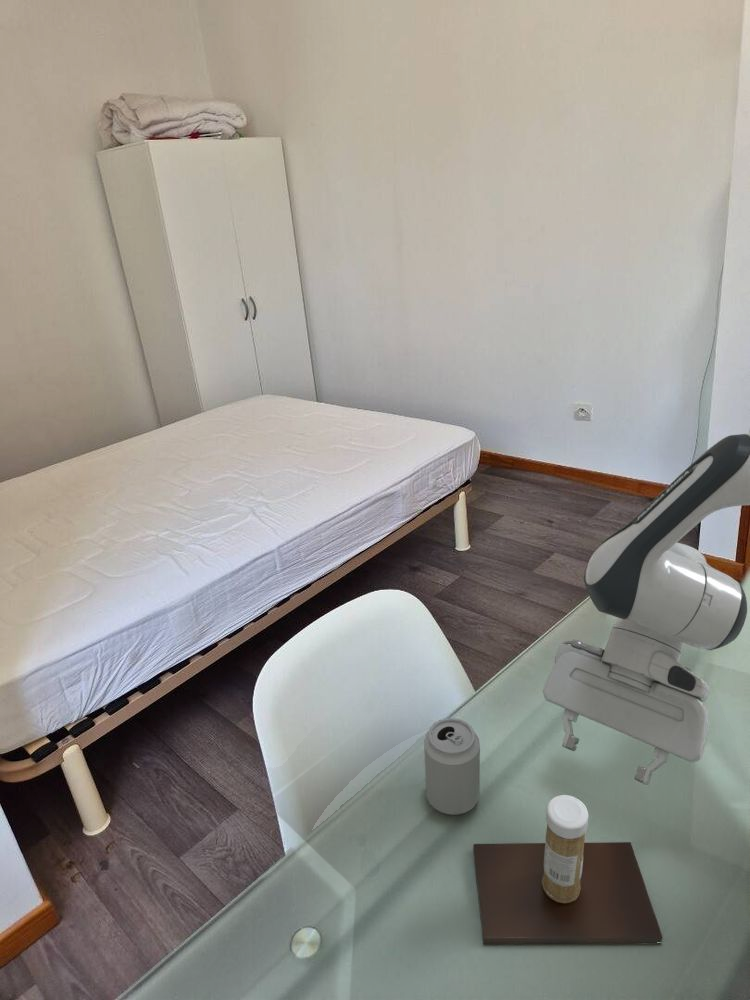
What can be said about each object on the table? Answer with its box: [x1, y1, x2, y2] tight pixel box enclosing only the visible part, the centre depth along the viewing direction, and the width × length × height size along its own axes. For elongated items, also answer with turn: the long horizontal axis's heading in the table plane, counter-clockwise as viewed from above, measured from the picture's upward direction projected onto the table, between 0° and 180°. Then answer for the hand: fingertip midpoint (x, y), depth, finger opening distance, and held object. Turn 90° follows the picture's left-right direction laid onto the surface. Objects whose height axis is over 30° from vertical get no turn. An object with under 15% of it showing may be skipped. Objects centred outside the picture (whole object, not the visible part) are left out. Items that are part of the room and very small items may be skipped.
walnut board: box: [472, 841, 664, 945], centre depth 83 cm, size 20×12×1 cm, turn 88°
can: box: [423, 717, 481, 816], centre depth 94 cm, size 8×8×12 cm
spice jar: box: [542, 794, 589, 903], centre depth 80 cm, size 5×5×14 cm
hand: (603, 765), depth 87 cm, fingers open, 8 cm apart
